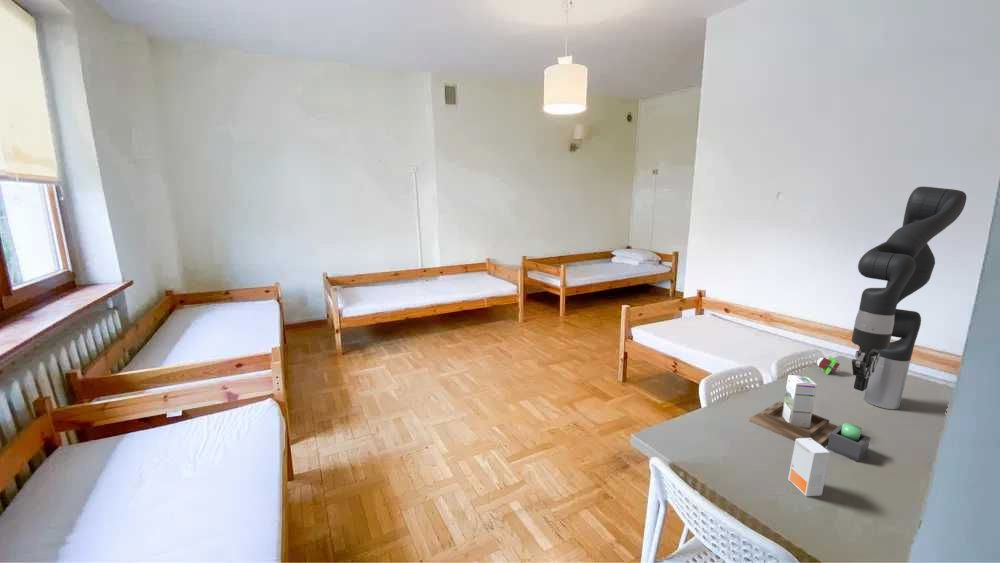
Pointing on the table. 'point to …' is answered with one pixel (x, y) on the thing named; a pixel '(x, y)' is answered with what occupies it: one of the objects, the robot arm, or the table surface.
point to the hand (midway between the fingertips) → (860, 388)
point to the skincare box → (809, 466)
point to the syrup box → (799, 400)
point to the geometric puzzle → (828, 365)
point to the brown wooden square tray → (777, 424)
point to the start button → (851, 431)
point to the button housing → (848, 445)
